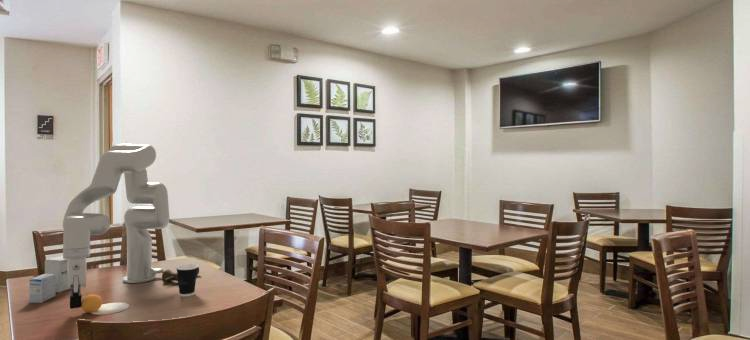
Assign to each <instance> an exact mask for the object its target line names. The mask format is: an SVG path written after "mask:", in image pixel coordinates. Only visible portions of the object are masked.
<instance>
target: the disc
mask: <svg viewBox="0 0 750 340" xmlns="http://www.w3.org/2000/svg"><path fill="white" fill-rule="evenodd" d="M129 308H130V304H128V303H126V302H109V303H102V305H101V307H100V308H99V309H98V310H97V311H95V312H91V313H90V314H92V315H98V316H99V315H104V316H105V315H111V314H116V313H120V312H123V311H125V310H127V309H129Z"/></svg>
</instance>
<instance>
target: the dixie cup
mask: <svg viewBox="0 0 750 340" xmlns="http://www.w3.org/2000/svg"><path fill="white" fill-rule="evenodd" d="M197 267H199V265H198V264H194V263H193V264H192V263H191V264H180V265H177V266H176V267H175V269H176V273H177V276H178V281H177V283H178V292H179V296H180V297H182V296H188V297H191V295H192V296H194V294H195V291H196V290H195V289H196V282H197V281H196V280H197V276H198V275H197Z"/></svg>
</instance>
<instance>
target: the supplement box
mask: <svg viewBox="0 0 750 340" xmlns="http://www.w3.org/2000/svg"><path fill="white" fill-rule="evenodd" d="M44 274H55V275H56V279H55V281H56V282H55V293H61V292H64V291H67V290H70V289H69V287H68V277H67V259H63V255H60V256H55V257H51V258H47V259H44Z"/></svg>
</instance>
